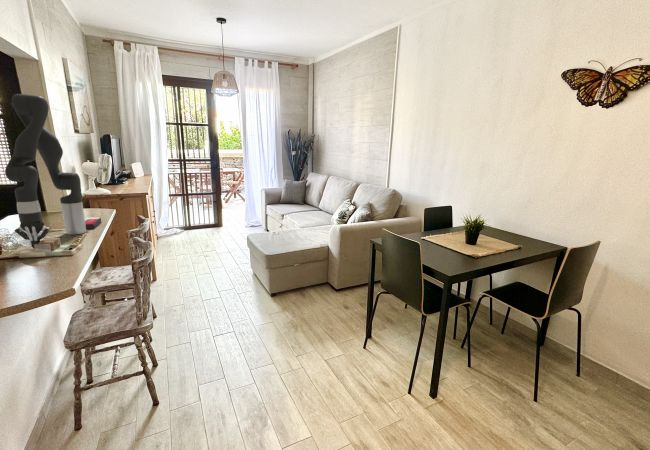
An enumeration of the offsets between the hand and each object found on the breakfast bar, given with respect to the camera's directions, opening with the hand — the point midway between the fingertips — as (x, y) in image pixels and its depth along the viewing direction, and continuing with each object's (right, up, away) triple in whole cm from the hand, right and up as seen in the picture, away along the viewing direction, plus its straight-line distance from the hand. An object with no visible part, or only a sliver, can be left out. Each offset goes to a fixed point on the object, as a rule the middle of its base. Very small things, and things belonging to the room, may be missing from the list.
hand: (36, 248), depth 146 cm
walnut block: (+5, 0, +1) cm, 5 cm away
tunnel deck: (+5, -2, +2) cm, 6 cm away
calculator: (-11, +9, +46) cm, 48 cm away
